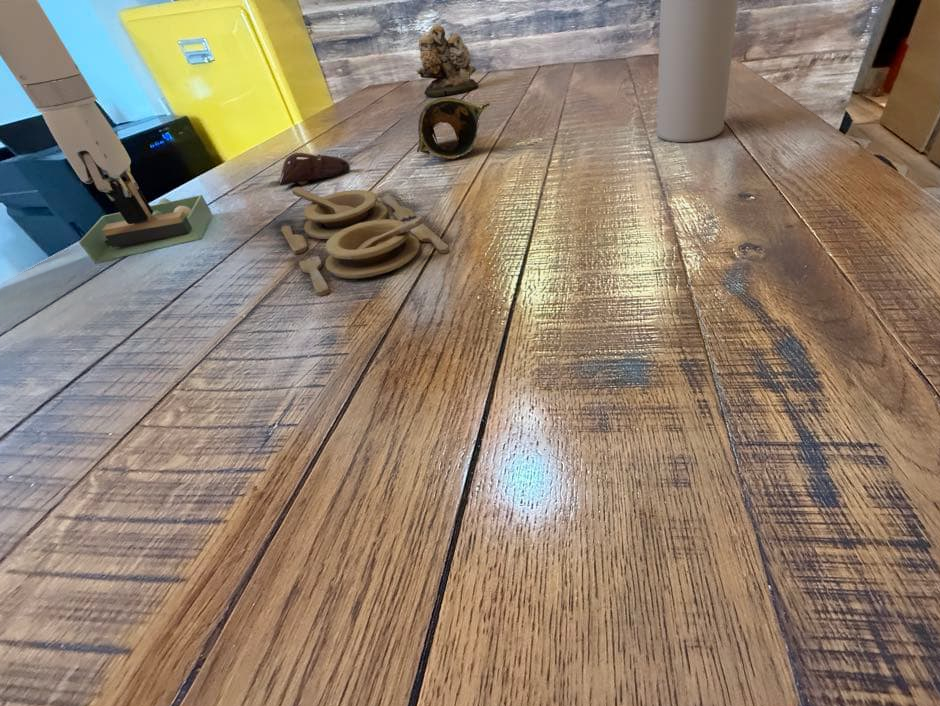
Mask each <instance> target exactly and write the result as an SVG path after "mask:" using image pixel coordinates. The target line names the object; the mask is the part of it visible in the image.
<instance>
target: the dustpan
mask: <svg viewBox="0 0 940 706" xmlns="http://www.w3.org/2000/svg"><path fill="white" fill-rule="evenodd" d="M178 206H186V207H189V208H190V209H191V212H190V213H189V215H188V217H187V219H188V221H189V223H190V225H191V227H192V228H191V230H190V232H189V234H184V235H179V236H173V237H167V238H162V239H156V240H151V241H145V242H140V243H134V244H128V245H123V246H117V247H112V246H111V244H110V243H109V241H108V240H107V238H106V237H105V235H104V234H103V232H102V231H101V230H102V229H103V228H104V227H105V225H106V224H109V223H115V222H121V221H125V219H124V218H123V216H122V215H121V213H120V212H119V211H118V212H115V213H110V214H105V215H102V216H101V217H100V218H99V219H98V220H97V221H96V222H95V224H93V226H92V227H91V228H90V229H89V230H88V231H87V233H85V234H84V236H83V237H81V238H80V240H79V241H78V243H79V245H80V246H81V248H82V249H83V250H84V251H85V252H86V254H87V256H88V257H89V258H90V259H91V260H92V262H93V263H94V264H98V263H102V262H106V261H111V260H115V259H120V258H124V257H128V256H132V255H137V254H141V253H145V252H151V251H154V250H158V249H163V248H167V247H173V246H176V245H180V244H184V243H185V244H186V243H189V242H194V241H198V240H202V239H203V237H204V235H205V232H206V231H207V229H208V226H209V223H210V222H211V219H212V217H213V212H212V210H211V209H210V207H209V205H208V204H207V201H206V199H205V198H204V195H202V194H199V195H195V196H190V197H185V198H180V199H176V200H170V199H168V198H162V199H160V200H159V202H158V203H157V204H152V205H150V207H151V209H152V210H153V213H152V214H151V215H152V216H156V215H162V214H168V213H173V212H174V210H175V208H176V207H178Z"/></svg>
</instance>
